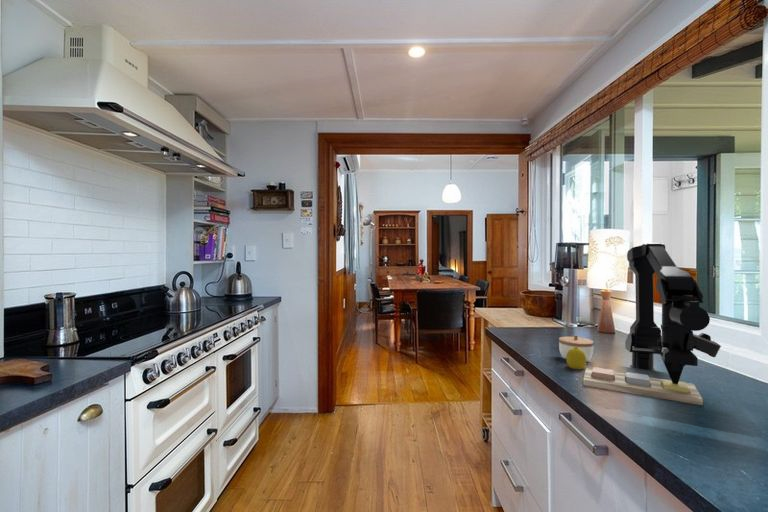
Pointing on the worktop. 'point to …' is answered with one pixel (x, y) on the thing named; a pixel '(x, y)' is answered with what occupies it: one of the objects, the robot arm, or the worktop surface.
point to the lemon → (576, 358)
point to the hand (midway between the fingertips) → (675, 383)
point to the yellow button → (675, 386)
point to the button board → (643, 388)
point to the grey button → (637, 379)
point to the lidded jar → (576, 345)
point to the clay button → (603, 373)
